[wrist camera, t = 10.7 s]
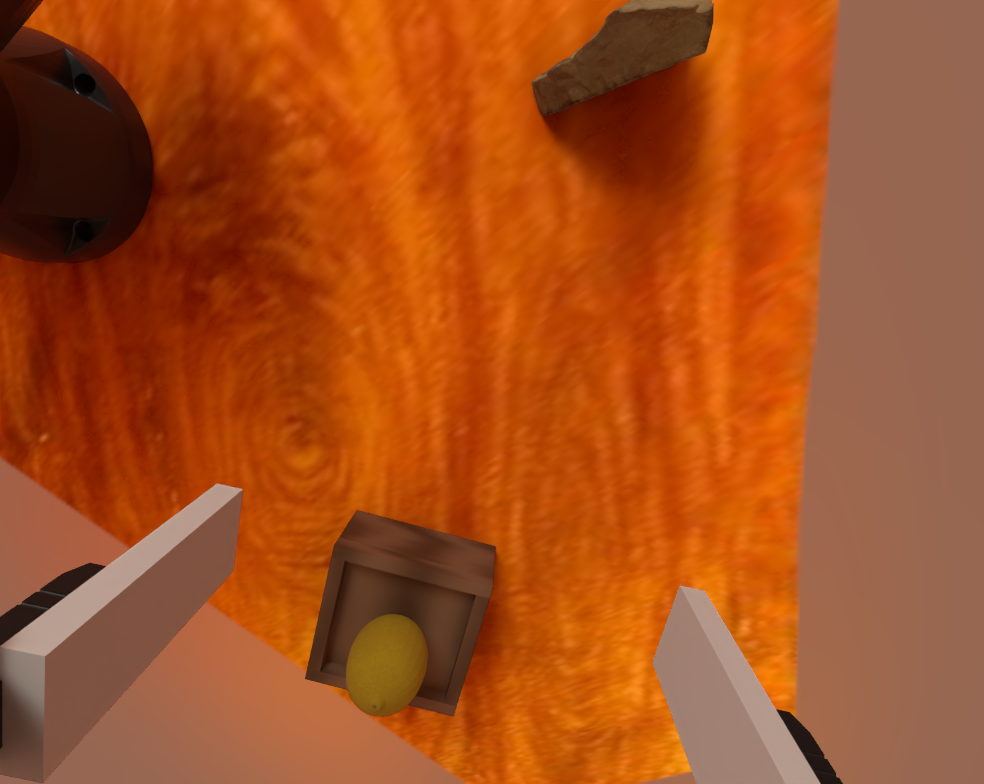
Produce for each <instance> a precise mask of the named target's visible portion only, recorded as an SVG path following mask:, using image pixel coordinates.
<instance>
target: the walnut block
mask: <svg viewBox="0 0 984 784" xmlns="http://www.w3.org/2000/svg"><path fill="white" fill-rule="evenodd" d="M494 562H495V546H492V545H488V544H484V543H480V542H477V541H473V540H469V539H465V538H461V537H458V536H454V535H450V534H446V533H442V532H439V531H435V530H431V529H427V528H423V527H419V526H416V525H412V524H408V523H404V522H400V521H397V520H393V519H389V518H385V517H381V516H378V515H374V514H370V513H366V512H362V511H358V510H357V511H356V512H355V514H354V515H353V517H352V518H351V520H350V522H349V523H348V525H347V526H346V528H345V529H344V531H343V532H342V534H341V536H340V537H339V539H338V540H337V542H336V543H335V545H334V548H333V553H332V557H331V562H330V566H329V571H328V576H327V580H326V585H325V589H324V594H323V599H322V603H321V608H320V612H319V617H318V622H317V626H316V631H315V635H314V640H313V645H312V649H311V654H310V658H309V663H308V668H307V672H306V677H305V679H307V680H311V681H315V682H319V683H323V684H327V685H331V686H335V687H339V688H343V689H347V685H346V666H347V661H348V656H349V652H350V649H351V647H352V644H353V643H354V641H355V639H356V637H357V635H358V634H359V632H360V631H361V630H362V629H363V628H364V627H365V626H366V625H367V624H368V623H369V622H370V621H372V620H374V619H376V618H377V617H380V616H383V615H386V614H398V615H403V616H405V617H408V618H410V619H411V620H412V621H414V622H415V623H416V624H417V625H418V626H419V628H420V629H421V630H422V632H423V634H424V637H425V639H426V644H427V649H428V661H427V669H426V673H425V676H424V679H423V681H422V684H421V686H420V688H419V690H418V692H417V694H416V695H415V697H414V698H413V699H412V701H411V702H410V703H409V704H408V705H410V706H414V707H418V708H422V709H426V710H430V711H434V712H437V713H441V714H445V715H449V716H454V713H455V710H456V706H457V703H458V700H459V697H460V693H461V690H462V687H463V684H464V680H465V677H466V674H467V670H468V667H469V664H470V661H471V657H472V654H473V651H474V648H475V644H476V641H477V638H478V635H479V631H480V628H481V625H482V621H483V618H484V615H485V612H486V608H487V605H488V602H489V599H490V595H491V592H492V589H493V579H494Z"/></svg>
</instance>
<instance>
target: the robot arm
mask: <svg viewBox="0 0 984 784" xmlns="http://www.w3.org/2000/svg"><path fill="white" fill-rule="evenodd" d="M42 1H43V0H0V253H3V254H6V255H9V256H12V257H15V258H19V259H24V260H29V261H35V262H57V263H74V262H83V261H88V260H92V259H95V258H98V257H101V256H103V255H105V254H107V253H109V252H111V251H112V250H114V249H115V248H117V247H118V246H119V245H121V244H122V243H123V242H124V241H125V240H126V239H127V238H128V237H129V236H130V235H131V234H132V232H133V231H134V230H135V228H136V227H137V225H138V224H139V222H140V220H141V218H142V216H143V214H144V212H145V209H146V206H147V203H148V200H149V196H150V191H151V184H152V158H151V151H150V146H149V141H148V138H147V134H146V131H145V128H144V125H143V123H142V120H141V118H140V116H139V114H138V111H137V109H136V107H135V106H134V104H133V102H132V101H131V99H130V97H129V96H128V94H127V93H126V91H125V90H124V89H123V87H122V86H121V85H120V84H119V82H118V81H117V80H116V79H115V78H114V77H113V76H112V75H111V74H110V73H109V72H108V71H107V70H106V69H105V68H104V67H103V66H102V65H101V64H99V63H98V62H97V61H95V60H94V59H93V58H91V57H90V56H88V55H87V54H85V53H84V52H82V51H80V50H78V49H76V48H74V47H72V46H70V45H68V44H66V43H64V42H62V41H60V40H58V39H56V38H54V37H52V36H50V35H48V34H46V33H43V32H41V31H38V30H35V29H32V28H28V27H25V26H23V25H24V23H25V22H26V21H27V20H28V18H29V17H30V16H31V15H32V13H33V12H34V11H35V10H36V9H37V7H38V6H39V5H40V4H41V2H42ZM242 494H243V489H240V488H236V487H231V486H227V485H222V484H218V483H217V484H216V485H214V486H213V487H212V488H210V489H209V490H208V491H206V492H205V493H204V494H202V495H201V496H200V497H198V498H197V499H196V500H194V501H193V502H192V503H190V504H189V505H188V506H186V507H185V508H184V509H182V510H181V511H180V512H178V513H177V514H176V515H174V516H173V517H172V518H170V519H169V520H168V521H166V522H165V523H164V524H162V525H161V526H160V527H158V528H157V529H156V530H154V531H153V532H152V533H150V534H149V535H148V536H146V537H145V538H144V539H142V540H141V541H140V542H138V543H137V544H136V545H134V546H133V547H132V548H130V549H129V550H128V551H126V552H125V553H124V554H122V555H121V556H120V557H118V558H117V559H116V560H114V561H113V562H112V563H110V564H109V565H108V566H102V565H98V564H93V563H88V564H86V565H83V566H81V567H78V568H76V569H73V570H71V571H68V572H66V573H63V574H61V575H60V576H58V577H57V578H56V579H54V580H53V581H51V582H50V583H48V584H47V585H45V586H44V587H43V588H41V590H40V592H35V593H34V594H32V595H31V596H30V597H28V598H27V599H25V600H24V601H23V602H22V604H21V605H17V606H15V607H14V608H12V609H11V610H9V611H8V612H7V613H5V614H4V615H2V616H1V617H0V774H1V775H5V776H10V777H15V778H20V779H25V780H30V781H35V782H39V783H43V782H44V781H45V780H46V779H47V778H48V777H49V776H50V775H51V773H52V772H53V771H54V770H55V769H56V768H57V767H58V766H59V764H61V762H62V761H63V760H64V759H65V758H66V757H67V756H68V755H69V754H70V752H71V751H72V750H73V749H74V748H75V747H76V746H77V745H78V743H79V742H80V741H81V740H82V739H83V738H84V736H86V734H87V733H88V732H89V731H90V730H91V729H92V728H93V727H94V726H95V724H96V723H97V722H98V721H99V720H100V719H101V718H102V717H103V716H104V715H105V713H106V712H107V711H108V710H109V709H110V708H111V707H112V706H113V705H114V703H115V702H116V701H117V700H118V699H119V698H120V697H121V696H122V695H123V693H124V692H125V691H126V690H127V689H128V688H129V687H130V686H131V685H132V683H133V682H134V681H135V680H136V679H137V678H138V677H139V676H140V674H141V673H142V672H143V671H144V670H145V669H146V668H147V667H148V665H149V664H150V663H151V662H152V661H153V660H154V659H155V658H156V657H157V656H158V654H159V653H160V652H161V651H162V650H163V649H164V648H165V647H166V645H167V644H168V643H169V642H170V641H171V640H172V639H173V638H174V636H176V634H177V633H178V632H179V631H180V630H181V629H182V628H183V627H184V626H185V624H186V623H187V622H188V621H189V620H190V619H191V618H192V617H193V615H194V614H195V613H196V612H197V611H198V610H199V609H200V608H201V607H202V605H203V604H204V603H205V602H206V601H207V600H208V599H209V598H210V597H211V595H212V594H213V593H214V592H215V591H216V590H217V589H218V588H219V587H220V585H221V584H222V583H223V582H224V581H225V580H226V579H227V578H228V577H229V575H230V574H231V573H232V572H233V571H234V562H235V554H236V545H237V536H238V528H239V519H240V511H241V502H242ZM653 665H654V668H655V670H656V673H657V676H658V679H659V681H660V684H661V687H662V690H663V692H664V695H665V698H666V701H667V704H668V706H669V709H670V712H671V715H672V717H673V720H674V723H675V726H676V728H677V731H678V734H679V737H680V740H681V742H682V745H683V748H684V751H685V753H686V756H687V759H688V762H689V764H690V767H691V770H692V773H693V775H694V778H695V781H696V784H843V783H842V782H841V780H840V779H839V778H837V777H836V773H835V771H834V769H833V768H832V766H831V765H830V763H829V762H828V760H827V759H825V758H824V754H823V752H822V751H821V749H820V747H819V746H818V744H817V743H816V741H815V740H814V738H813V737H812V735H811V734H810V732H809V731H808V730H807V729H806V728H805V727H804V726H802V724H801V723H800V722H799V721H798V720H797V719H796V718H795V717H794V716H793V715H792V714H791V713H790V712H786V711H782V710H777V709H775V707H774V705H773V704H772V702H771V700H770V699H769V697H768V695H767V694H766V692H765V690H764V689H763V687H762V685H761V684H760V682H759V680H758V679H757V677H756V675H755V674H754V672H753V670H752V669H751V667H750V665H749V664H748V662H747V660H746V659H745V657H744V655H743V654H742V652H741V650H740V649H739V647H738V645H737V644H736V642H735V640H734V639H733V637H732V635H731V634H730V632H729V630H728V629H727V627H726V625H725V624H724V622H723V620H722V619H721V617H720V615H719V614H718V612H717V610H716V609H715V607H714V605H713V604H712V602H711V600H710V599H709V597H708V595H707V594H706V592H705V591H703V590H699V589H694V588H689V587H685V586H679V589H678V592H677V595H676V597H675V600H674V603H673V606H672V609H671V611H670V614H669V617H668V620H667V623H666V625H665V628H664V631H663V634H662V636H661V639H660V642H659V645H658V648H657V650H656V653H655V656H654V659H653Z"/></svg>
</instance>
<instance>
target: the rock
mask: <svg viewBox="0 0 984 784" xmlns="http://www.w3.org/2000/svg"><path fill="white" fill-rule="evenodd" d="M713 6H714V4H713V3H712V2H711V0H633V1H629V2H627V3H626V4H625V5H623V6H622V7H620V8H617V9H615V10H614V11H613V12H611V13H610V14H609V15H608V16H607V17H606V19H605V20H606V21H605V23H604V25H603V26H602V28H601V29H600V30H599V32H598V33H596V34H595V35H594V36H593V37H592V38H591V40H590V41H588V42H587V43H586V44H585V45H584V46H583V47H582V48H580V49H578V50H577V51H576V52H575V53H574V54H573V55H572V56H571V57H570V58H567V59H564V60H562V61H560V62H558V63H557V64H556V65H554V66H553V67H552V68H551V69H550V70H548V71H547V72H545V73H542V74H541V75H539V76H538V77H537V78H536V79H535V80H533V82H532V86H533V90H534V93H535V96H536V99H537V103H538V107H539V109H540V112H541V114H542V115H543V116H548V115H551V114H555V113H557V112H560V111H562V110H564V109H566V108H569V107H571V106H573V105H575V104H578V103H581V102H584V101H586V100H589V99H591V98H593V97H595V96H598V95H602V94H604V93H606V92H608V91H611V90H614V89H616V88H618V87H620V86H623V85H626V84H628V83H630V82H632V81H634V80H637V79H639V78H643V77H646V76H648V75H650V74H652V73H654V72H657V71H661V70H664V69H667V68H669V67H671V66H673V65H675V64H678V63H681V62H683V61H686V60H688V59H690V58H693V57H695V56H698V55H701V54H703V53H705V52H706V49H707V45H708V42H709V38H710V33H711V29H712V24H713Z"/></svg>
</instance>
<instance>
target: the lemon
mask: <svg viewBox="0 0 984 784" xmlns="http://www.w3.org/2000/svg"><path fill="white" fill-rule="evenodd" d="M427 661H428V649H427V644H426V639H425V637H424V634H423V632H422V630H421V629H420V628H419V626H418V625H417V624H416V623H415V622H414V621H412V620H411V619H410V618H408V617H405V616H403V615H398V614H386V615H383V616H380V617H377V618H376V619H374V620H372V621H370V622H369V623H368V624H367V625H366V626H365V627H364V628H363V629H362V630H361V631H360V632H359V634H358V635H357V637H356V639H355V641H354V643H353V644H352V647H351V649H350V652H349V656H348V661H347V666H346V685H347V690H348V692H349V695H350V697H351V699H352V701H353V702H354V704H355V705H356V706H357V707H358V708H359V709H360V710H362V711H363V712H365V713H367V714H369V715H373V716H381V717H383V716H389V715H392V714H395V713H397V712H399V711H400V710H402V709H403V708H405V707H406V706H407V705H408V704H409V703H410V702H411V701H412V699H413V698H414V697H415V695H416V694H417V692H418V690H419V688H420V686H421V684H422V681H423V679H424V676H425V673H426V669H427Z"/></svg>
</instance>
